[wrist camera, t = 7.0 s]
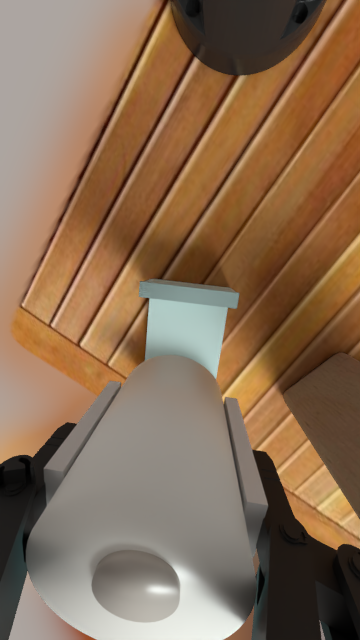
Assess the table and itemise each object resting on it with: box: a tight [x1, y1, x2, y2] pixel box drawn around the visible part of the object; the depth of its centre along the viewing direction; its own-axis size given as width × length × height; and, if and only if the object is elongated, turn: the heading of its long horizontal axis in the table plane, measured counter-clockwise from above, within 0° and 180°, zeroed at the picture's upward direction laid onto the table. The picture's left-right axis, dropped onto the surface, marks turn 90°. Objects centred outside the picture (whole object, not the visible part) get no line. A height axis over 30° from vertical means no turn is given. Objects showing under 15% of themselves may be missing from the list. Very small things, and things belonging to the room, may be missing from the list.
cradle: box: [139, 279, 239, 379], centre depth 27 cm, size 14×10×6 cm
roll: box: [26, 355, 257, 640], centre depth 11 cm, size 7×7×9 cm
